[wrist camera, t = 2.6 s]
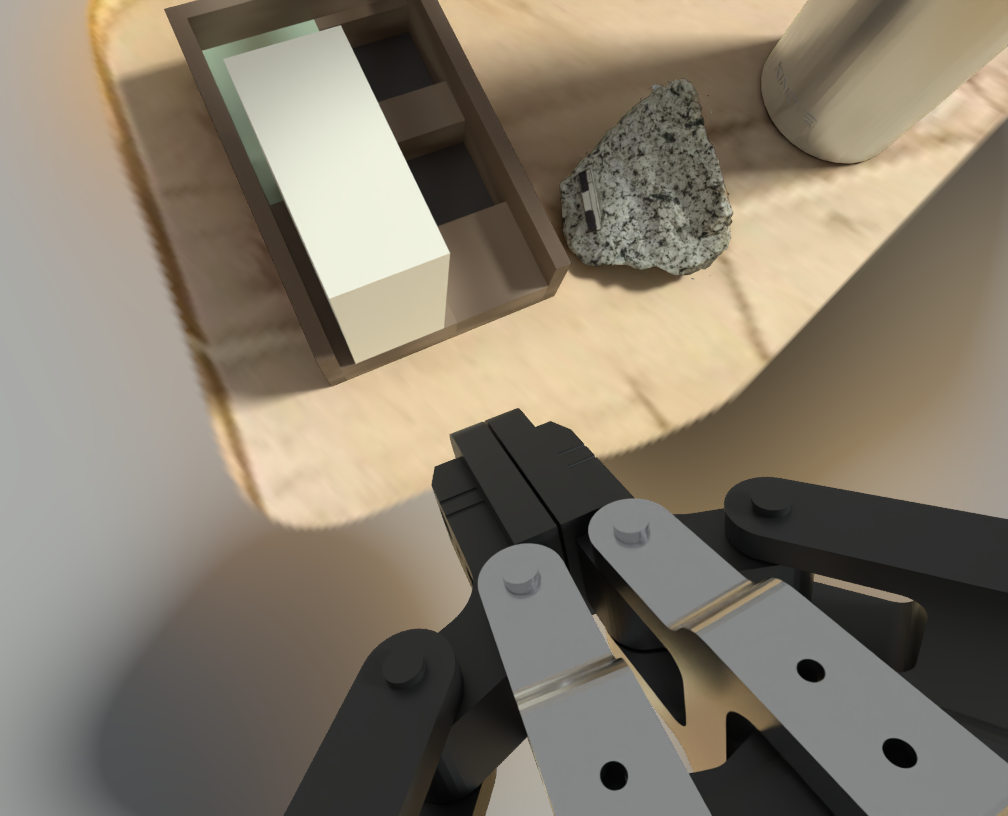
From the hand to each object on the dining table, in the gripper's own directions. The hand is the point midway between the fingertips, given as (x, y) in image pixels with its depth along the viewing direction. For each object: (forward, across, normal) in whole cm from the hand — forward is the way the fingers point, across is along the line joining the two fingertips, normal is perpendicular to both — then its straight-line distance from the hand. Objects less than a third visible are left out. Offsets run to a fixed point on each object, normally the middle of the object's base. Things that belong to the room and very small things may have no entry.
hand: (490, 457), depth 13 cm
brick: (+20, 0, +1) cm, 20 cm away
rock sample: (+20, -15, +4) cm, 26 cm away
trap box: (+25, -2, -2) cm, 25 cm away
